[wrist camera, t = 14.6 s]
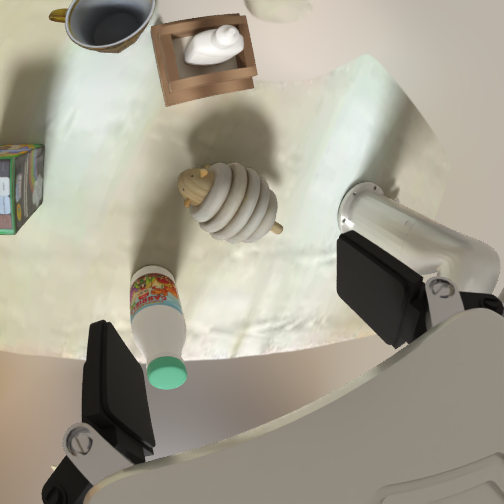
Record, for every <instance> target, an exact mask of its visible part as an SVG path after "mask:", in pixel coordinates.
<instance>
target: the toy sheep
mask: <svg viewBox="0 0 504 504" xmlns="http://www.w3.org/2000/svg"><path fill="white" fill-rule="evenodd" d="M177 185H178V189H179V191H180V193H181V195H182V196H183V197H184V198H185V199H186V200H185V201H184V204H185V206H186V208H188V207H189V206H190V215H191V217H192V218H193V219H194V220H195V221H197V222H199V225H200V227H201V228H202V229H203V230H204V231H206V232H210V234H211V236H212V237H213V238H215V239H217V240H226V241H227V242H229V243H239V242H244V243H253V242H255V241H257V240H259V239H261V238H262V237H263V236H264V235H265V234H267V233H268V232H269V230H270V231H272V232H274V233H276V234H280V233H281V232H282V231H283V226H282V225H280V224H279V223H277V222H276V221H275V219H276V213H277V198H276V196H275V194H274V192H273V191H271V190H270V189H269V186H268V184H267V182H266V180H265V179H264V178H262V177H260V176H259V175H258V173H257V172H256V171H255V170H254V169H252V168H249V167H243V165H241V164H240V163H237V162H233V163H229V164H225V163H222V162H220V163H216V164H214V165H212V166H211V165H210V164H206V165H204V167H203V168H192V169H188V170H186V171H184V172H182V173H181V174H180V176H179V177H178V181H177Z"/></svg>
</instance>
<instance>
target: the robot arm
mask: <svg viewBox="0 0 504 504" xmlns="http://www.w3.org/2000/svg"><path fill="white" fill-rule="evenodd" d="M338 224H339V228H340V231H341V232H342V234H341V235H340V236H339V239H338V240H337V293H338V295H339V297H340V298H341V299H342V300H343V301H344V302H345V303H346V304H347V305H348V306H349V307H350V308H351V309H352V310H354V311H355V312H356V313H357V314H358V315H359V316H360V317H361V318H362V319H363V320H364V321H365V322H366V323H367V324H368V325H369V326H370V327H371V328H372V329H373V330H374V331H375V333H376V334H377V335H378V336H380V337H381V338H382V340H384V342H385V343H387V344H388V345H392V346H393V347H394V348H395V349H397V348H398V347H400V346H401V345H402V344H404V343H405V341H406V342H407V343H408V344H409V345H407V346H406V347H404V348H403V349H401V350H400V351H399V352H397V353H396V354H394V355H393V356H392V357H390V358H388V359H387V360H385V361H384V362H382V363H381V364H379V365H377V366H376V367H374V368H373V369H371V370H369V371H368V372H366V373H364V374H363V375H361V376H360V377H358V378H356V379H355V380H353V381H351V382H349V383H347V384H346V385H344V386H342V387H340V388H339V389H337V390H335V391H333V392H331V393H329V394H328V395H326V396H324V397H322V398H320V399H318V400H316V401H314V402H312V403H310V404H308V405H306V406H304V407H302V408H300V409H297V410H296V411H293V412H291V413H289V414H287V415H284V416H282V417H280V418H278V419H275V420H273V421H271V422H268V423H266V424H263V425H261V426H259V427H256V428H254V429H251V430H248V431H246V432H243V433H240V434H238V435H235V436H232V437H230V438H226V439H224V440H221V441H218V442H215V443H212V444H208V445H205V446H202V447H199V448H195V449H192V450H189V451H186V452H182V453H178V454H175V455H171V456H167V457H163V458H159V459H155V460H152V461H148V462H145V456H150V455H154V453H153V448H152V447H155V439H154V434H153V429H152V424H151V419H150V413H149V407H148V402H147V395H146V389H145V382H144V375H143V370H142V368H141V366H140V364H139V363H138V362H137V360H136V359H135V357H134V356H133V355H132V353H131V352H130V350H129V349H128V347H127V346H126V345H125V343H124V342H123V340H122V339H121V337H120V336H119V334H118V333H117V331H116V330H115V328H114V326H113V325H112V323H111V322H106V321H105V320H101V321H98V322H95V323H92V324H90V328H89V337H88V346H87V358H86V362H85V364H84V367H83V383H82V423H76V424H74V425H72V426H71V427H69V428H68V430H67V431H66V433H65V435H64V438H63V448H64V451H65V453H66V456H65V458H64V459H63V460H62V462H61V463H60V464H59V466H58V467H57V468H56V470H55V471H54V472H53V474H52V475H51V477H50V478H49V479H48V481H47V482H46V483H45V485H44V487H43V489H42V500H43V503H44V504H504V288H503V290H502V292H501V293H500V295H499V297H498V298H497V297H496V296H494V295H492V292H493V290H494V288H495V286H496V283H497V281H498V277H499V274H500V259H499V256H498V254H497V252H496V251H495V250H494V249H493V248H492V247H491V246H489V245H488V244H486V243H484V242H482V241H480V240H477V239H474V238H472V237H469V236H466V235H464V234H461V233H459V232H456V231H454V230H452V229H450V228H448V227H446V226H444V225H442V224H439V223H437V222H436V221H434V220H432V219H430V218H428V217H426V216H424V215H422V214H420V213H418V212H416V211H414V210H412V209H410V208H408V207H406V206H404V205H402V204H400V203H399V199H398V198H394V199H390V198H388V197H385V195H384V193H383V191H382V189H381V188H380V187H379V186H378V185H376V184H374V183H372V182H362V183H359V184H357V185H355V186H354V187H353V188H351V189H350V190H349V191H348V193H347V194H346V195H345V197H344V198H343V201H342V203H341V205H340V208H339V213H338ZM435 272H437V276H436V277H432V278H430V279H429V280H427V282H426V284H425V283H424V282H422V281H423V277H422V276H421V275H425V274H431V273H435Z"/></svg>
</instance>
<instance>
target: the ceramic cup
mask: <svg viewBox="0 0 504 504" xmlns="http://www.w3.org/2000/svg"><path fill="white" fill-rule="evenodd" d="M155 3H156V0H73V1H72V3H71V5H70V6H69V8H68V9H58V10H55V11H53V12H51V13H50V15H49V19H50V20H51V21H55V22H62V23H65V28H66V32H67V34H68V36H69V37H70V39H71V40H72V41H73V42H74V43H76V44H77V45H79V46H81V47H83V48H86V49H89V50H94V51H98V52H103V53H120V52H121V51H123V50H124V49H126V48H127V47H129V46H131V45H132V44H134V43H135V42H136V41H137V39H138V37H139V36H140V34H141V33H142V32H143V30H144V29H145V27H146V26H147V24H148V22H149V20H150V19H151V17H152V14H153V12H154V9H155Z"/></svg>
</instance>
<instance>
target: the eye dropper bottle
mask: <svg viewBox="0 0 504 504" xmlns="http://www.w3.org/2000/svg"><path fill="white" fill-rule="evenodd" d="M243 48H244V39H243V36H242V35H241V34H239V31H238V30H237V29H236V27H234V26H231V25H223V26H221V27H219V28H218V29H212V30H207V31H204V32H201V33H199V34H197V35H195V36H194V37H193V38H192V40H191V41H190V43H189V44H188V46H187V47H186V49H185V51H184V59H185V62H186V63H187V64H190V65H194V66H201V67H207V66H214V65H218V64H221V63H223V62H225V61H227V60H228V59H230V58H232V57H233V56H235V55H237V54H238V53H240V52H241V51H242V50H243Z"/></svg>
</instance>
